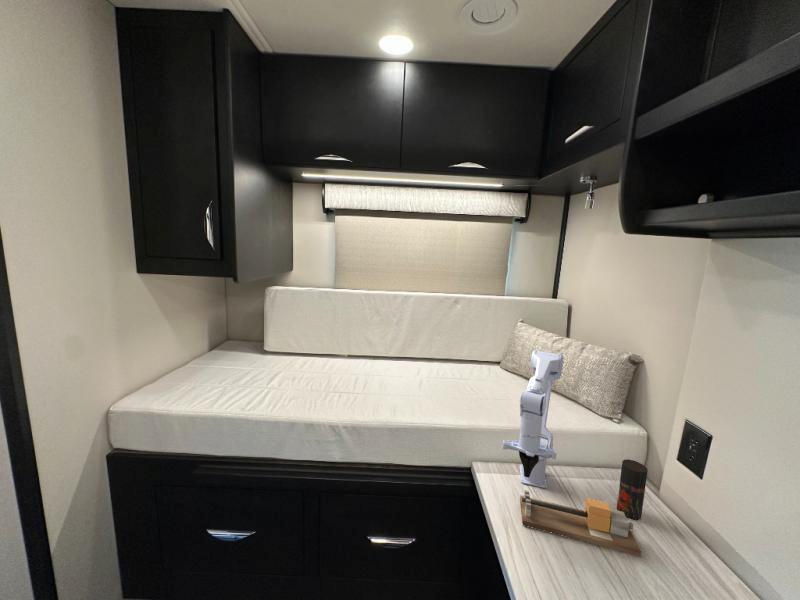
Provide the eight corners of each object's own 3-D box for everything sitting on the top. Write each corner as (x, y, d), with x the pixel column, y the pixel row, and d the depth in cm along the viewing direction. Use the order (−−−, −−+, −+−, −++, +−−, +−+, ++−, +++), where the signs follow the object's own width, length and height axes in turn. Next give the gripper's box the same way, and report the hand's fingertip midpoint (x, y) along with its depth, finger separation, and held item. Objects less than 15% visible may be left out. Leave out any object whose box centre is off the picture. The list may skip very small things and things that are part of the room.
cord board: (519, 499, 95) (521, 481, 95) (624, 525, 87) (627, 505, 86) (522, 525, 86) (524, 505, 85) (640, 556, 78) (643, 535, 77)
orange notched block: (583, 516, 87) (586, 496, 87) (604, 520, 86) (606, 501, 85) (587, 527, 83) (590, 507, 83) (609, 532, 82) (611, 512, 81)
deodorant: (645, 522, 88) (652, 474, 87) (622, 518, 90) (628, 470, 88) (634, 506, 94) (640, 461, 92) (612, 503, 95) (618, 458, 94)
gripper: (504, 434, 89) (501, 477, 90) (560, 444, 84) (555, 490, 86) (504, 422, 95) (501, 463, 97) (555, 431, 91) (551, 474, 93)
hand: (526, 475), depth 92 cm, fingers closed
